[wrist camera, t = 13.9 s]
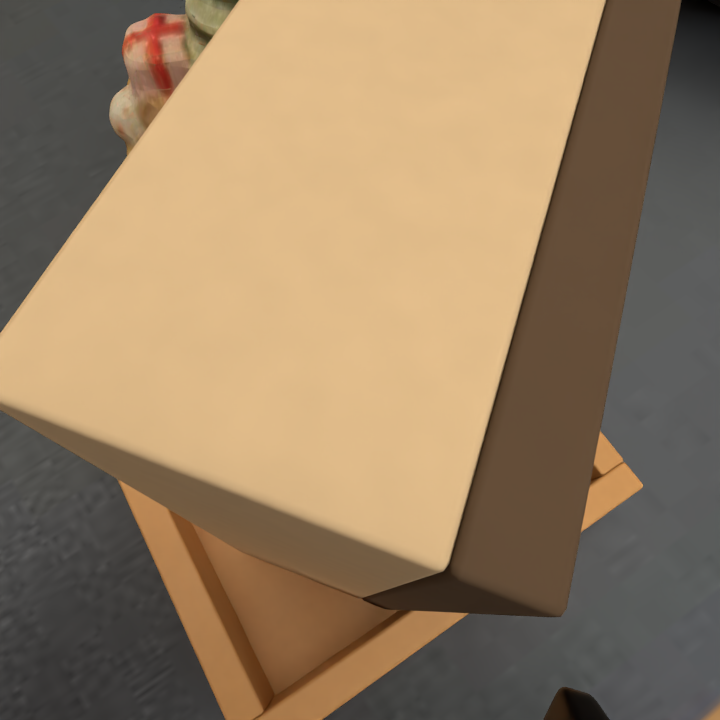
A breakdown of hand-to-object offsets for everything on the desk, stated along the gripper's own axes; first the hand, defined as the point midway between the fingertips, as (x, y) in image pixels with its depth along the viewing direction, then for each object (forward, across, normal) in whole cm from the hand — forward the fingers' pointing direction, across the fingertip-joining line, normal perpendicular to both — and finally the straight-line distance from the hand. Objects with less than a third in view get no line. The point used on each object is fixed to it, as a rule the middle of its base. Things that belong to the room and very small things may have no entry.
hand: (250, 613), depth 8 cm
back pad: (+9, -1, +2) cm, 9 cm away
